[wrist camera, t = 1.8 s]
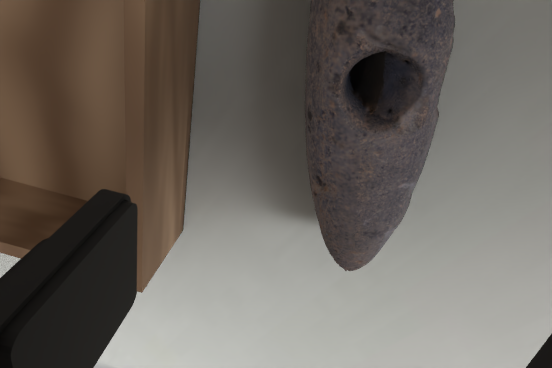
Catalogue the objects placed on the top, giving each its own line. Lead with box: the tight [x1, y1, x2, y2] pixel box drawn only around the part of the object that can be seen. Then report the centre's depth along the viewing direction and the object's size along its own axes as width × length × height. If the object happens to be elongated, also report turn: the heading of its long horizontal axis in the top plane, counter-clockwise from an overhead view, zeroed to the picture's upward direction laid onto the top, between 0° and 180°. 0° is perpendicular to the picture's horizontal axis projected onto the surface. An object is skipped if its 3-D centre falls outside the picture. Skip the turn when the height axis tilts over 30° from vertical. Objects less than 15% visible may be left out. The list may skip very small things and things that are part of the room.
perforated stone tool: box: [305, 0, 455, 271], centre depth 18 cm, size 15×5×7 cm, turn 178°
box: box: [0, 0, 200, 292], centre depth 19 cm, size 14×22×6 cm, turn 170°
